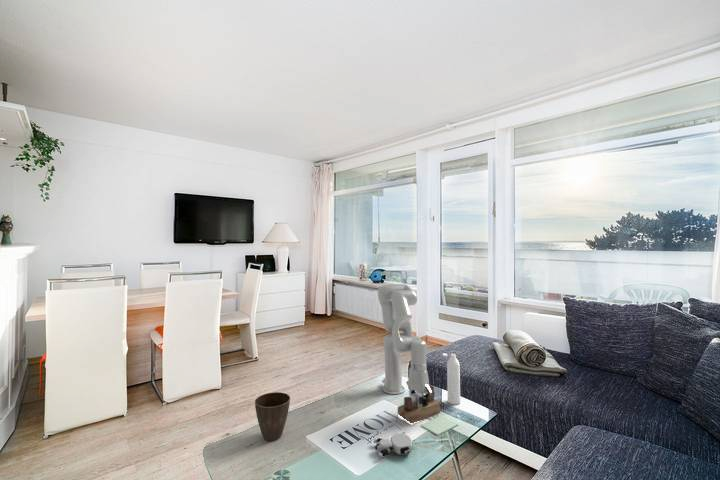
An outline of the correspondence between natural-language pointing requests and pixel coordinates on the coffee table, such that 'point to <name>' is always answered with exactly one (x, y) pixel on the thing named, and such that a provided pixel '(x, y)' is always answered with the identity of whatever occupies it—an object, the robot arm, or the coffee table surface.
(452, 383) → the water bottle
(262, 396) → the plant pot
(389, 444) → the toy panda
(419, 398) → the grey rectangular block
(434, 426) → the mat
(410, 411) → the plane body
